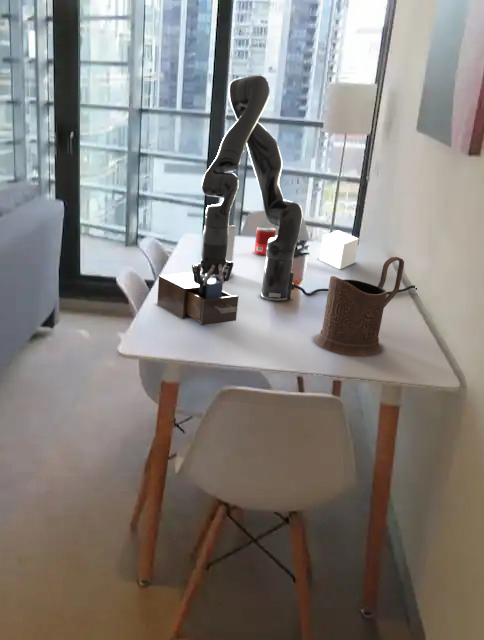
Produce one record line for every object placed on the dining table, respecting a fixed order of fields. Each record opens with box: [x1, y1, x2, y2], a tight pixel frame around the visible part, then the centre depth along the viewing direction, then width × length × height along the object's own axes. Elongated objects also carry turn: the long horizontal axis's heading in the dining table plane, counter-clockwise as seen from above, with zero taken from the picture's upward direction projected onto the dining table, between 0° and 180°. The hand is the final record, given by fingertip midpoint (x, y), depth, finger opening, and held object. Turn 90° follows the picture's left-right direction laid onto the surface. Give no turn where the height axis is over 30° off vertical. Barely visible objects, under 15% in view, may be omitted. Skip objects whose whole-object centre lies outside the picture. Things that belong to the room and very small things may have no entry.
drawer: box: [185, 290, 240, 327], centre depth 221 cm, size 19×13×8 cm, turn 28°
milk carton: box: [211, 224, 237, 277], centre depth 271 cm, size 7×7×19 cm
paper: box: [319, 229, 360, 270], centre depth 301 cm, size 14×29×10 cm, turn 170°
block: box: [199, 278, 224, 299], centre depth 220 cm, size 5×5×5 cm
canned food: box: [254, 225, 277, 257], centre depth 307 cm, size 8×8×11 cm
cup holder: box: [315, 256, 405, 357], centre depth 205 cm, size 18×24×25 cm
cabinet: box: [156, 271, 199, 320], centre depth 231 cm, size 16×14×10 cm
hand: (210, 295), depth 221 cm, fingers closed on block, 5 cm apart
